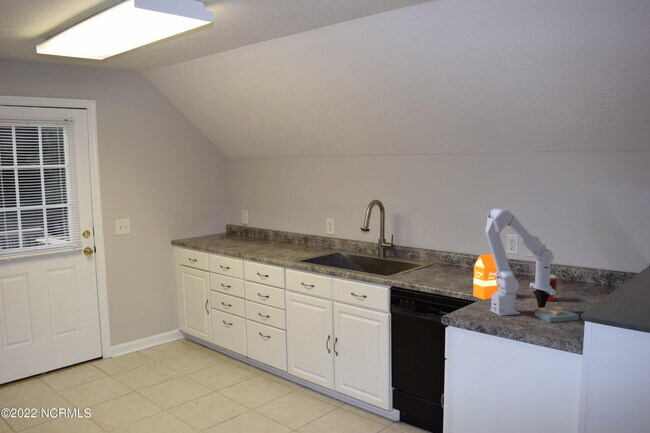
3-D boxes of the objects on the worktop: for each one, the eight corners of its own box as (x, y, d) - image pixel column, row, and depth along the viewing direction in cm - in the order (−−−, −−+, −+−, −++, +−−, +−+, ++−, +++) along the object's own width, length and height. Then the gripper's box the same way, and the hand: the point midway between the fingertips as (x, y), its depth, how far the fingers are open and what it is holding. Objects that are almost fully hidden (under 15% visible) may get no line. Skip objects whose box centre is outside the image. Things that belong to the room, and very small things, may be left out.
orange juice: (473, 295, 253) (474, 254, 251) (488, 293, 256) (489, 252, 254) (483, 299, 246) (484, 256, 244) (499, 297, 249) (500, 255, 247)
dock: (549, 322, 210) (549, 317, 210) (538, 317, 217) (538, 312, 217) (578, 319, 214) (578, 314, 214) (566, 314, 221) (566, 310, 220)
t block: (547, 320, 213) (547, 313, 212) (534, 315, 220) (534, 308, 220) (573, 318, 216) (573, 311, 215) (559, 313, 223) (560, 306, 223)
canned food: (550, 297, 250) (551, 273, 248) (559, 301, 242) (559, 277, 240) (534, 297, 249) (535, 274, 248) (542, 301, 241) (543, 277, 240)
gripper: (562, 279, 218) (561, 311, 220) (540, 272, 232) (539, 302, 234) (547, 280, 216) (546, 313, 218) (525, 273, 230) (524, 303, 232)
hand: (541, 307), depth 226 cm, fingers closed
